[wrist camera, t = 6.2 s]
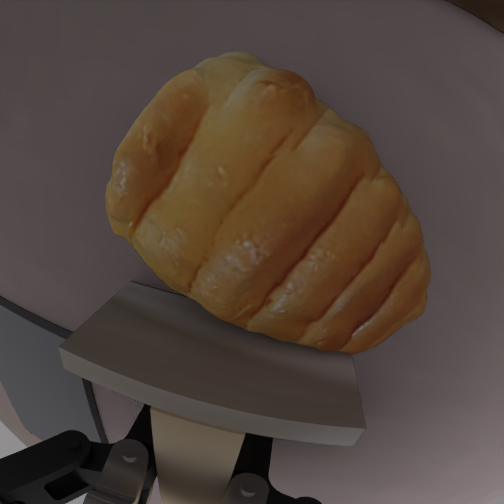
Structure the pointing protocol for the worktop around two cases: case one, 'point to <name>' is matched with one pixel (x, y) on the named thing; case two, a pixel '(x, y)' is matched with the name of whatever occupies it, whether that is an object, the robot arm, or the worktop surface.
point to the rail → (485, 10)
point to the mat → (43, 377)
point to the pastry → (268, 208)
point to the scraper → (211, 386)
